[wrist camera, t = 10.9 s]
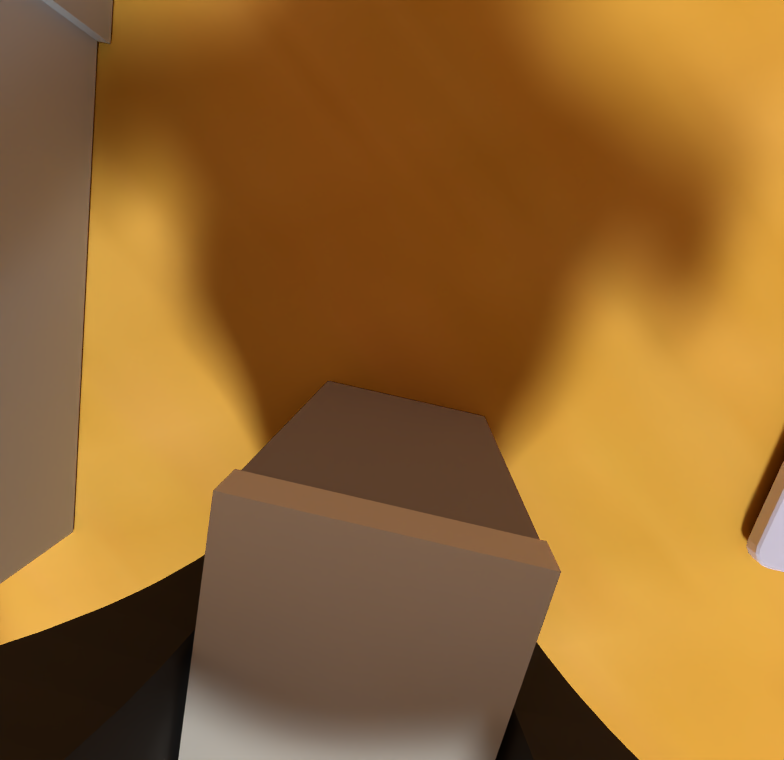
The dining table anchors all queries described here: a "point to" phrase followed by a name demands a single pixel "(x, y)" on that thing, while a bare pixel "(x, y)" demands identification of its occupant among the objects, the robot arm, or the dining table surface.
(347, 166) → the dining table surface
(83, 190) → the wall
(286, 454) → the block
